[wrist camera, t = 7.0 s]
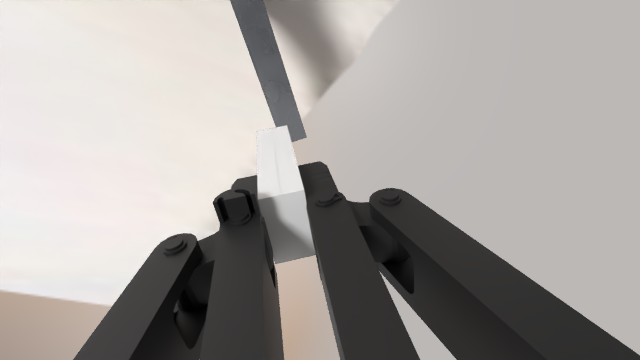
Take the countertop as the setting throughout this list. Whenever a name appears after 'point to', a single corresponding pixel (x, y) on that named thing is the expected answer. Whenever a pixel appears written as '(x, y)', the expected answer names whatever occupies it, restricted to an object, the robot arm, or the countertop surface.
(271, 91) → the grey lever handle
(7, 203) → the countertop surface
